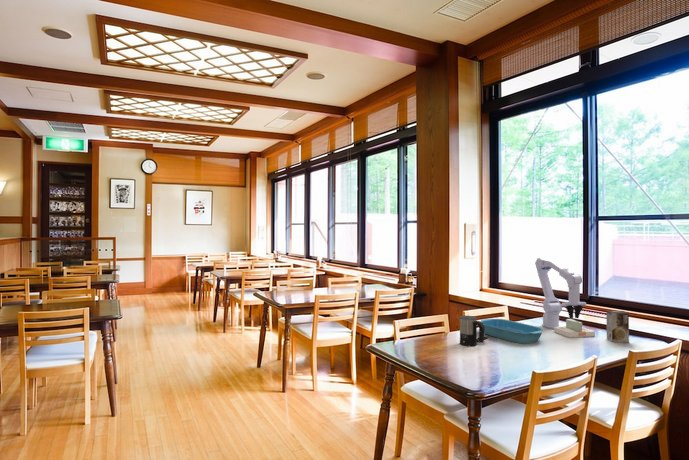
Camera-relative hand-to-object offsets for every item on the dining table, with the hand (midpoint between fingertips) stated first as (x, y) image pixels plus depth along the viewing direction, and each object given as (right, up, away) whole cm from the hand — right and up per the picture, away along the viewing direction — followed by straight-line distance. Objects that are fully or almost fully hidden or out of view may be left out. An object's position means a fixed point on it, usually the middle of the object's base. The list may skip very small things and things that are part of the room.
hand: (573, 318), depth 255 cm
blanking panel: (0, -9, 0) cm, 9 cm away
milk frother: (-65, -10, -19) cm, 69 cm away
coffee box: (+17, -10, -14) cm, 24 cm away
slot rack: (0, -9, 0) cm, 9 cm away
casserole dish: (-40, -10, -5) cm, 41 cm away
